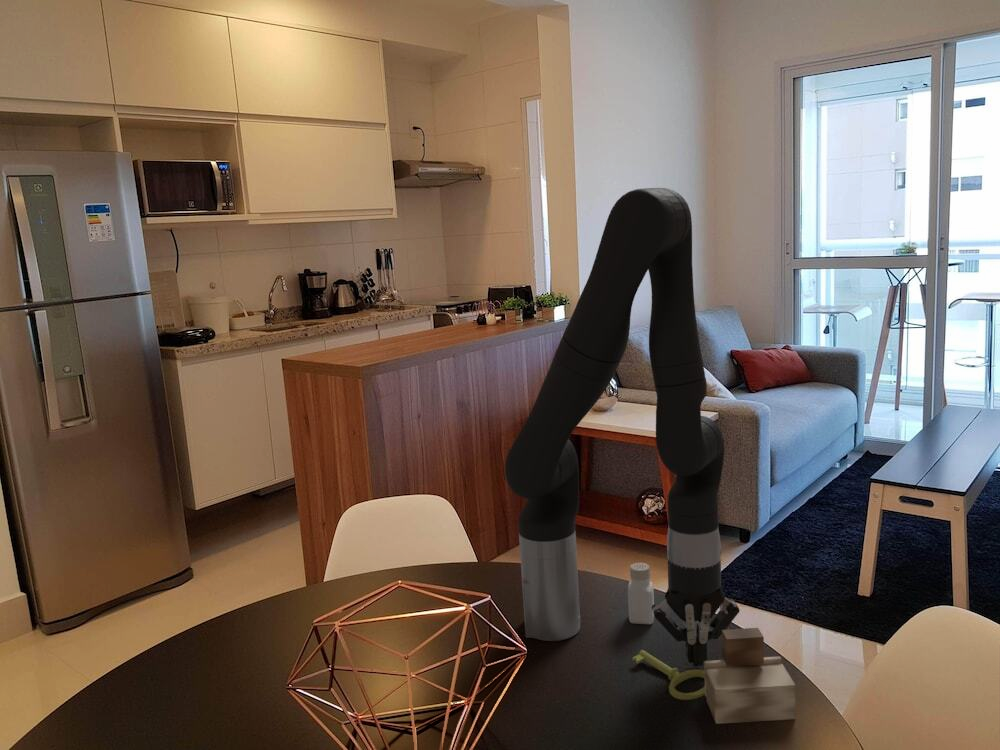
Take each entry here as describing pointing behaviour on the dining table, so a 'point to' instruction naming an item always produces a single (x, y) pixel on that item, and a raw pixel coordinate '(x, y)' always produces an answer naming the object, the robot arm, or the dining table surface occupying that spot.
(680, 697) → the key
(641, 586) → the salt shaker
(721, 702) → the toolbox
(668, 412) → the robot arm
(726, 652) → the stacked wooden blocks
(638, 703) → the dining table surface
